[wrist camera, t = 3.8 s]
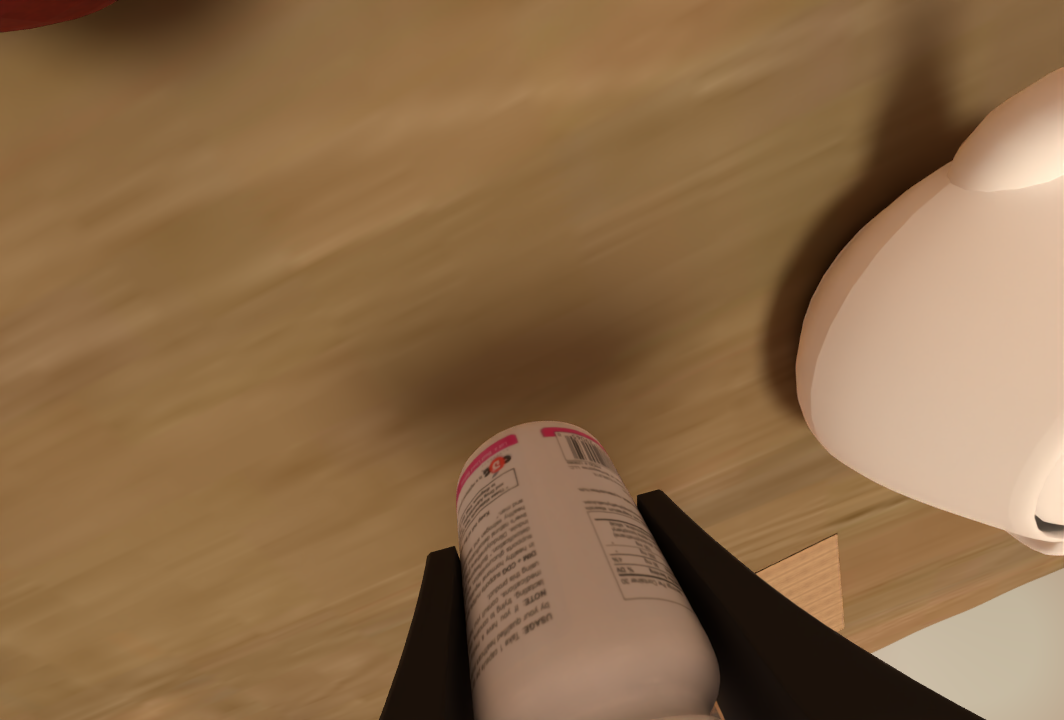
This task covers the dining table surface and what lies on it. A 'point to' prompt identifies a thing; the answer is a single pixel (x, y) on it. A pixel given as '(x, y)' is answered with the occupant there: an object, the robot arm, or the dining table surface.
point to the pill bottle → (571, 589)
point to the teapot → (956, 331)
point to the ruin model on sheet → (716, 712)
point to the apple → (44, 12)
